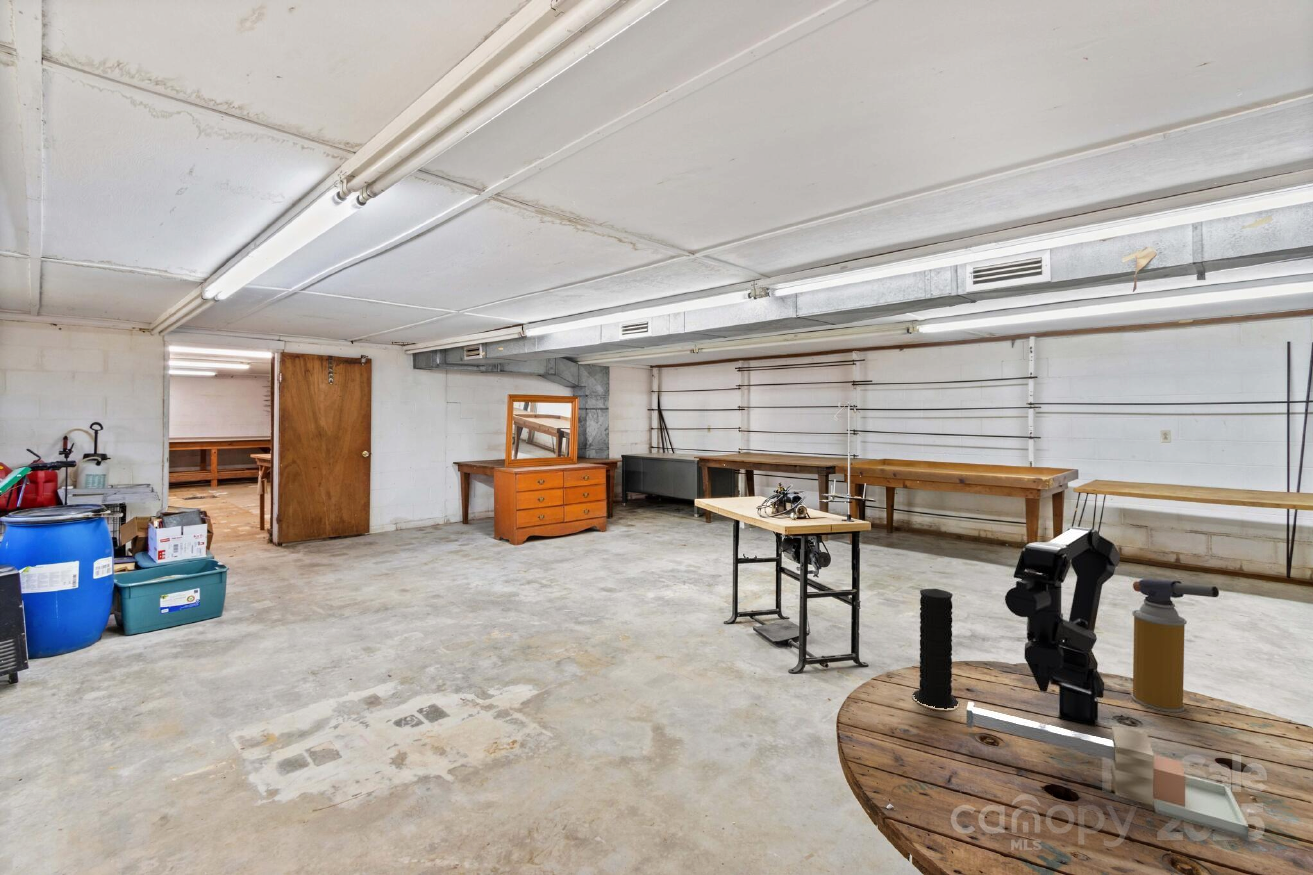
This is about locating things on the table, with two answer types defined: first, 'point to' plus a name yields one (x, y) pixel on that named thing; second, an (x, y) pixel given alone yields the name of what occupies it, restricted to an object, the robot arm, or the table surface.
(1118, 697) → the table surface
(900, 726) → the table surface
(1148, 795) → the pillow block
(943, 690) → the handle grip
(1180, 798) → the collar
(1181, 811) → the tray
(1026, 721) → the shaft
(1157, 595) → the blowtorch
